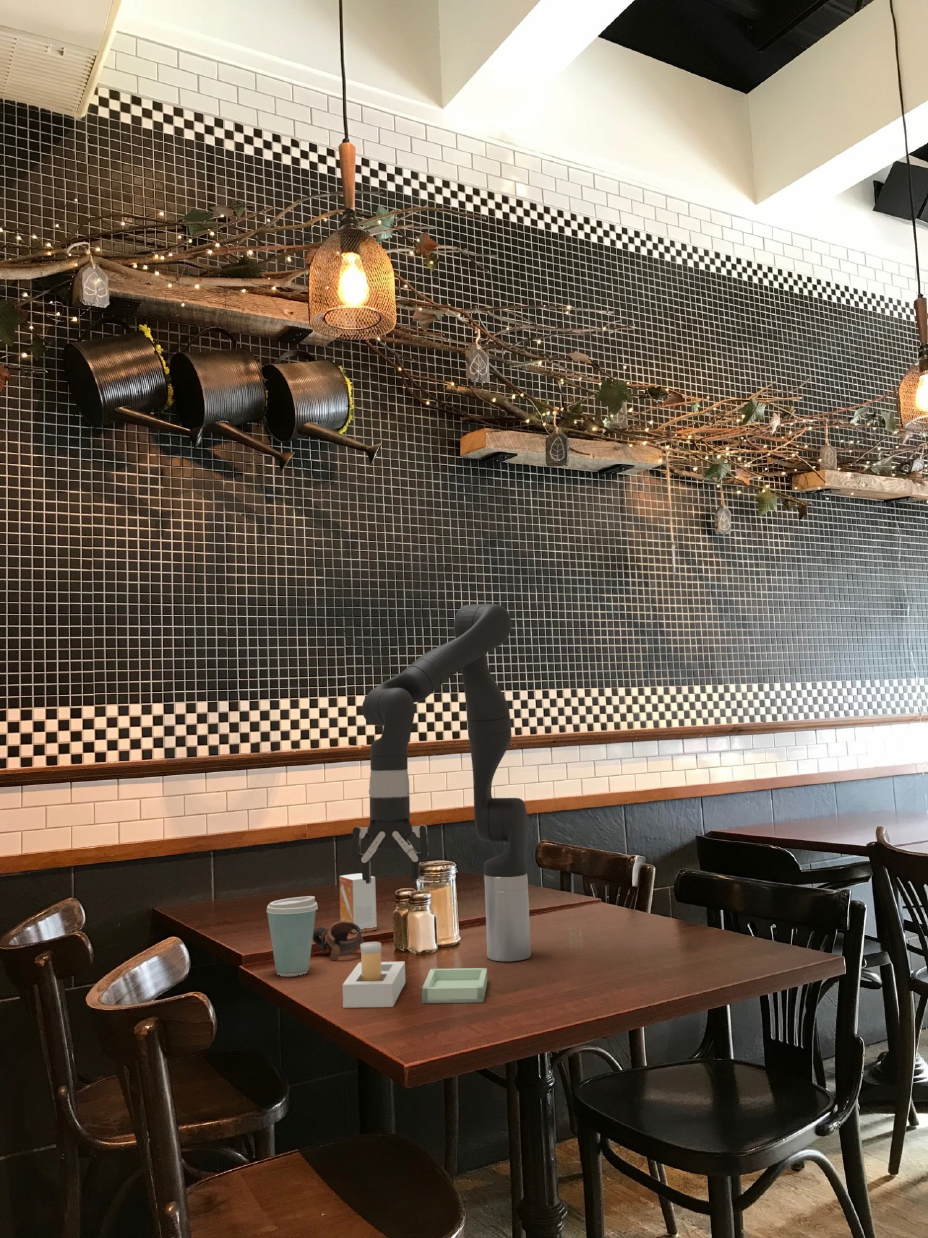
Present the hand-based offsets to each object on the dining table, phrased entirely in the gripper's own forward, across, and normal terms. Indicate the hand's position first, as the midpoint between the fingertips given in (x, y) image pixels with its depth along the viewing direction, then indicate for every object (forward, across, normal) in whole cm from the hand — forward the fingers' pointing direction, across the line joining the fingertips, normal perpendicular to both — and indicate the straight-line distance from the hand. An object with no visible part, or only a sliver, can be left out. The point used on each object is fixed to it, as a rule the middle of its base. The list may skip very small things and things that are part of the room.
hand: (390, 882), depth 183 cm
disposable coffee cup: (+21, +23, -20) cm, 37 cm away
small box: (+20, +16, -60) cm, 65 cm away
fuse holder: (+21, +4, -2) cm, 21 cm away
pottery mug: (+20, +17, -34) cm, 43 cm away
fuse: (+21, +4, +1) cm, 21 cm away
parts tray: (+20, -12, -3) cm, 24 cm away
